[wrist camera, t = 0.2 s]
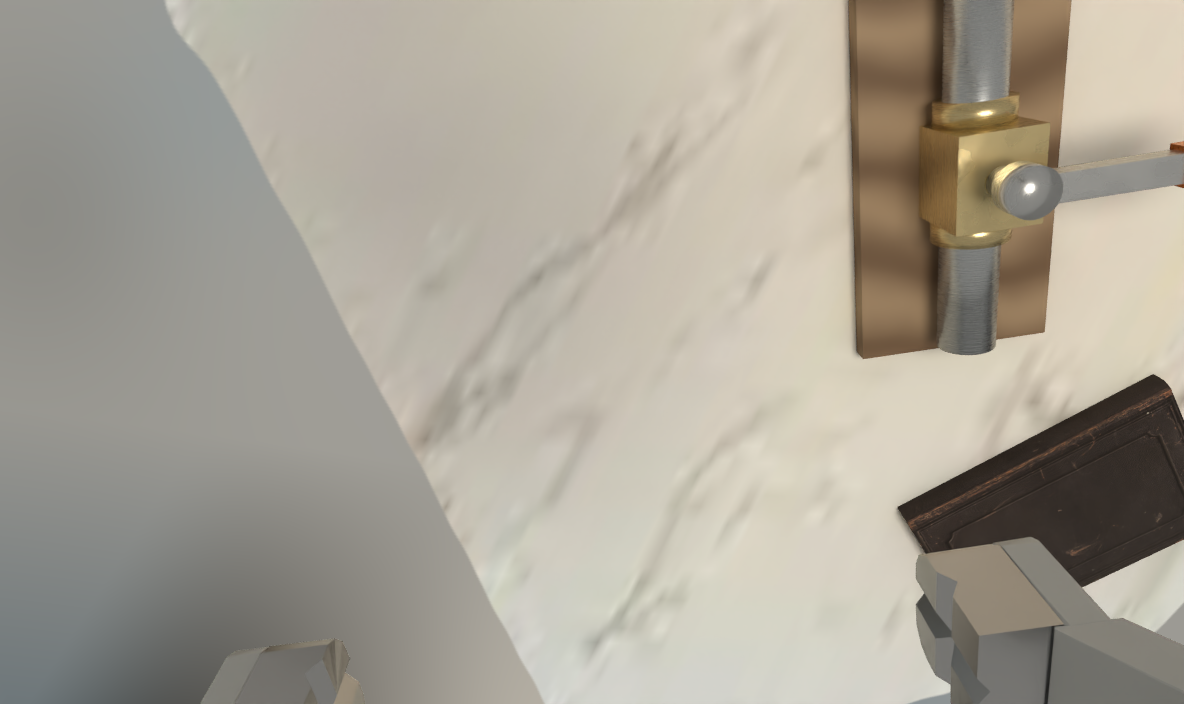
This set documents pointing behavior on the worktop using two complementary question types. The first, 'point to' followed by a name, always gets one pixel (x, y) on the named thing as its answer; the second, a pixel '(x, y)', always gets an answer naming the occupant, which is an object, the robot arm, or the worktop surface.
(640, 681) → the worktop surface
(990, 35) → the valve body
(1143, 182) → the valve lever
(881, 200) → the mount board
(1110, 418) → the hardcover book
